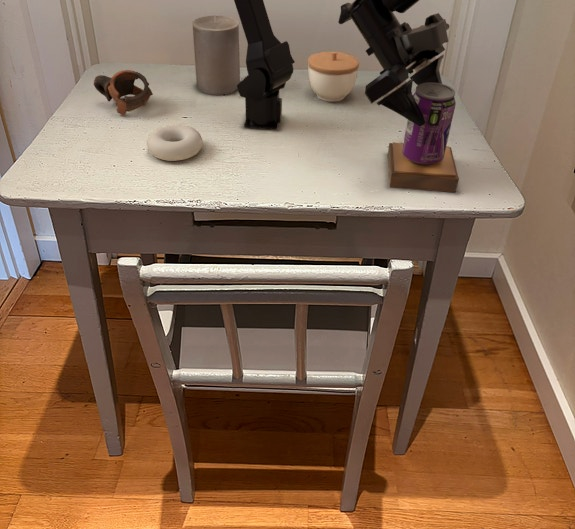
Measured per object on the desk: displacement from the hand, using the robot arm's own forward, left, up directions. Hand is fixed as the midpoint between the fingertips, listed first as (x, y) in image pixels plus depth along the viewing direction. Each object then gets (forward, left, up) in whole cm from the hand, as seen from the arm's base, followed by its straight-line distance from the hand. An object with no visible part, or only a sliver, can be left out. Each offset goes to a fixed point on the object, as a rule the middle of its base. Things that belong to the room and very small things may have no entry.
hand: (433, 114), depth 92 cm
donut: (-44, +2, -11) cm, 46 cm away
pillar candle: (-42, +32, -11) cm, 54 cm away
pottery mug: (-59, +19, -11) cm, 63 cm away
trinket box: (-17, +31, -11) cm, 37 cm away
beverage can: (0, 0, -8) cm, 8 cm away
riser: (0, 0, -11) cm, 11 cm away
